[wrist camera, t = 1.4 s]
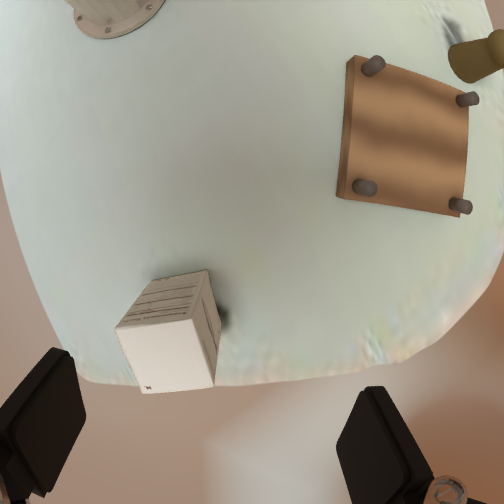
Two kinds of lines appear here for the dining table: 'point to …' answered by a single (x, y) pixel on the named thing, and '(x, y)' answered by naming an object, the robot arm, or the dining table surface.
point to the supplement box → (172, 334)
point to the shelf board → (403, 139)
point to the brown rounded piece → (478, 57)
